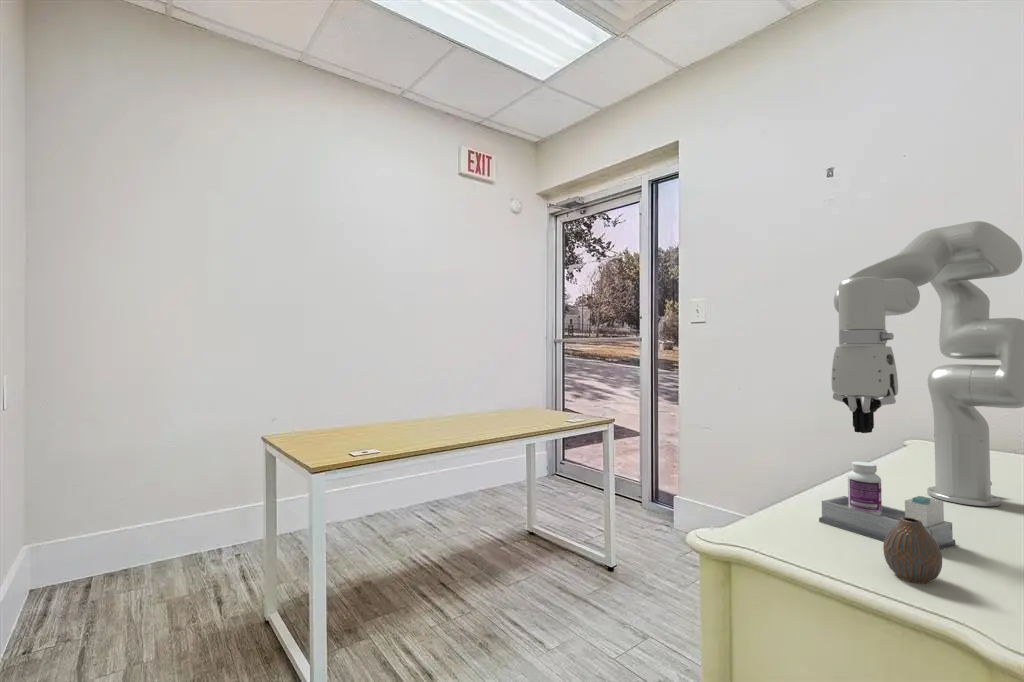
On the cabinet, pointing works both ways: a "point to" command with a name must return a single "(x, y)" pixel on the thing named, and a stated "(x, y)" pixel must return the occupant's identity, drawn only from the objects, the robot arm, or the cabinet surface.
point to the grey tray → (889, 518)
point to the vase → (912, 552)
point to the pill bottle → (864, 488)
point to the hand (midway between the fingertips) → (863, 431)
